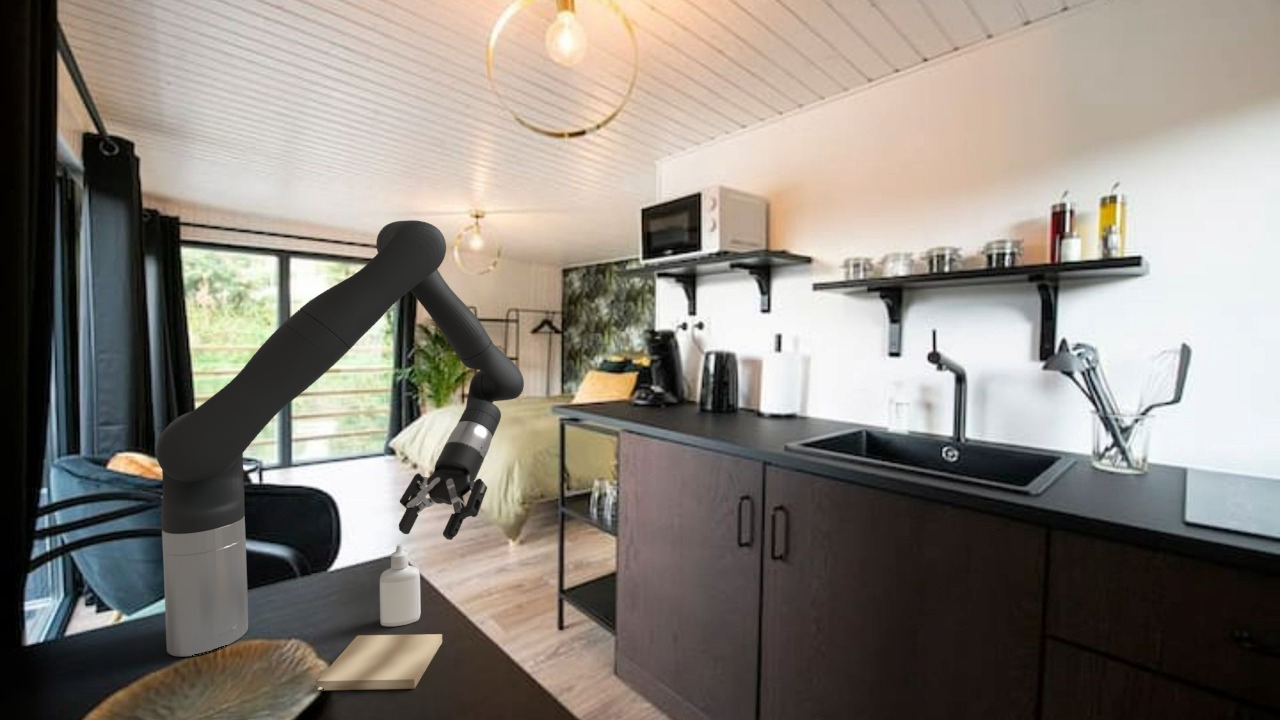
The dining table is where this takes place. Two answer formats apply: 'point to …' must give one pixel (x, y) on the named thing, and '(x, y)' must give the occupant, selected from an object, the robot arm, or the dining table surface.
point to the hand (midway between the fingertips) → (424, 535)
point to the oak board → (381, 662)
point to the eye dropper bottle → (400, 591)
